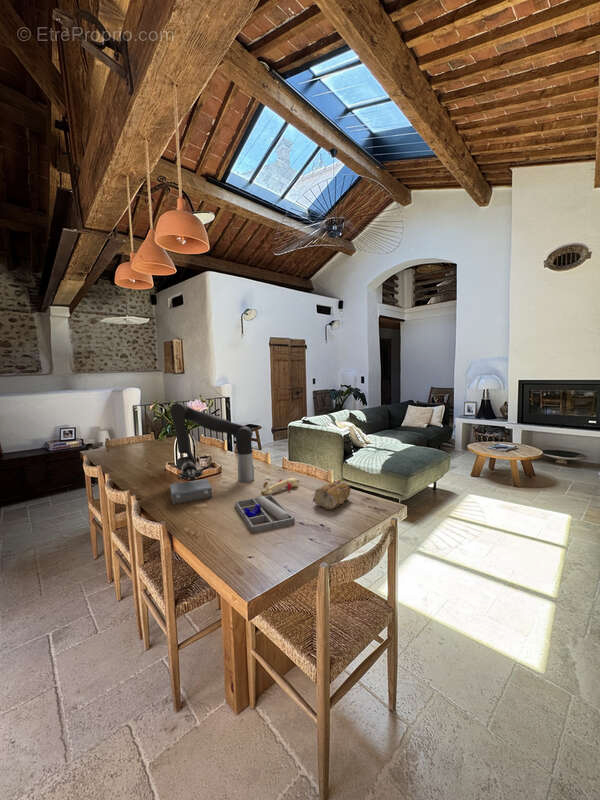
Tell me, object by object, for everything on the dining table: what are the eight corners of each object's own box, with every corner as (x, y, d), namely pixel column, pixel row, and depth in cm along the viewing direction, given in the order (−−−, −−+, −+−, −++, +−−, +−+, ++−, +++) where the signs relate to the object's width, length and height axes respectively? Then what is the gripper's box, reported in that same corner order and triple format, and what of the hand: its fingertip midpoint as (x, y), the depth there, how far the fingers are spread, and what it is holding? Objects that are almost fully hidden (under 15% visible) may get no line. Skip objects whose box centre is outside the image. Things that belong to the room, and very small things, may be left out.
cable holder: (248, 519, 157) (248, 511, 157) (244, 517, 160) (244, 509, 159) (262, 514, 163) (262, 506, 162) (258, 511, 165) (258, 504, 165)
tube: (293, 513, 155) (266, 495, 176) (283, 512, 152) (257, 494, 173) (289, 524, 155) (263, 506, 176) (280, 524, 152) (254, 505, 173)
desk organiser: (271, 499, 181) (271, 495, 181) (294, 523, 153) (294, 518, 153) (235, 506, 173) (235, 501, 173) (252, 532, 145) (252, 527, 145)
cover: (207, 480, 197) (207, 478, 197) (211, 488, 184) (211, 487, 183) (170, 485, 189) (170, 484, 189) (172, 495, 175) (171, 493, 175)
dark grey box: (207, 489, 198) (207, 481, 197) (212, 498, 184) (211, 489, 184) (170, 495, 190) (170, 486, 189) (172, 504, 176) (172, 495, 176)
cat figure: (270, 500, 183) (303, 485, 200) (268, 485, 182) (302, 471, 199) (259, 495, 190) (292, 481, 207) (257, 481, 189) (291, 467, 206)
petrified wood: (332, 493, 187) (335, 477, 185) (352, 504, 180) (356, 487, 178) (310, 504, 172) (314, 486, 170) (332, 516, 164) (336, 497, 162)
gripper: (176, 464, 189) (178, 473, 173) (200, 461, 194) (205, 469, 178) (177, 478, 189) (179, 488, 174) (201, 474, 195) (206, 483, 179)
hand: (192, 478), depth 176 cm, fingers closed
